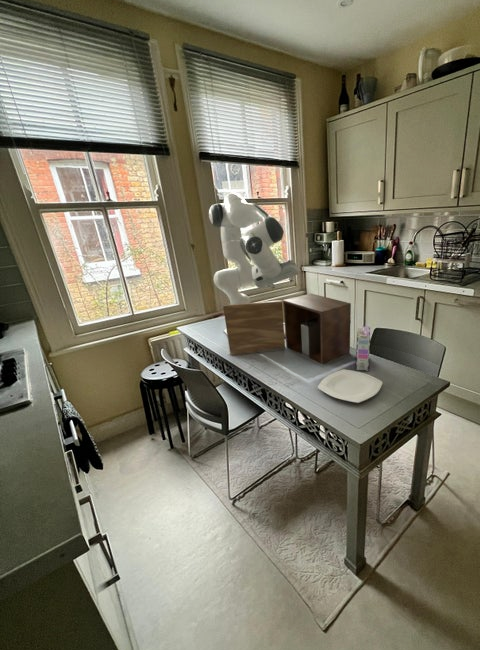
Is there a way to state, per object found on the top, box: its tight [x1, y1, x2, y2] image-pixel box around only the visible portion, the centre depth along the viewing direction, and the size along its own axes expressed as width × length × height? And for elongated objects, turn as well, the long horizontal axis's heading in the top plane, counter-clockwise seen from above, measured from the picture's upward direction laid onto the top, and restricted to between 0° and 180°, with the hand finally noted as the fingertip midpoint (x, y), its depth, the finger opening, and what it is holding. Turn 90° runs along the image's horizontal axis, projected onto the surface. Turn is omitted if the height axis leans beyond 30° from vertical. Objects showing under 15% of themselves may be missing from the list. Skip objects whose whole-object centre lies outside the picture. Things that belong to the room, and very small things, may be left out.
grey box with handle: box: [301, 318, 321, 356], centre depth 155 cm, size 6×9×17 cm, turn 128°
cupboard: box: [282, 293, 352, 365], centre depth 155 cm, size 18×28×26 cm, turn 38°
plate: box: [317, 368, 384, 404], centre depth 127 cm, size 23×23×2 cm
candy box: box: [355, 325, 371, 372], centre depth 143 cm, size 14×6×16 cm, turn 168°
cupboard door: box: [222, 300, 286, 356], centre depth 161 cm, size 7×28×26 cm, turn 98°
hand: (282, 283), depth 146 cm, fingers open, 8 cm apart
